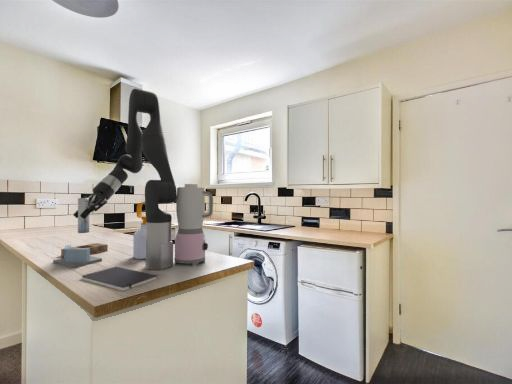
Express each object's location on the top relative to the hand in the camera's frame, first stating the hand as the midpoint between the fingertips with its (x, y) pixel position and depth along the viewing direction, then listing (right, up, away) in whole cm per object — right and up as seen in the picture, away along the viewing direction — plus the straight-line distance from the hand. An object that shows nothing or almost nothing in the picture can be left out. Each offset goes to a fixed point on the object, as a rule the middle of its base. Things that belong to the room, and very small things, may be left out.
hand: (78, 216), depth 108 cm
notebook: (+27, -19, -20) cm, 38 cm away
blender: (+46, -19, +1) cm, 50 cm away
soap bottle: (+23, -19, +10) cm, 31 cm away
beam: (-6, -18, +14) cm, 24 cm away
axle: (+1, -7, +2) cm, 7 cm away
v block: (-1, -18, -1) cm, 18 cm away
